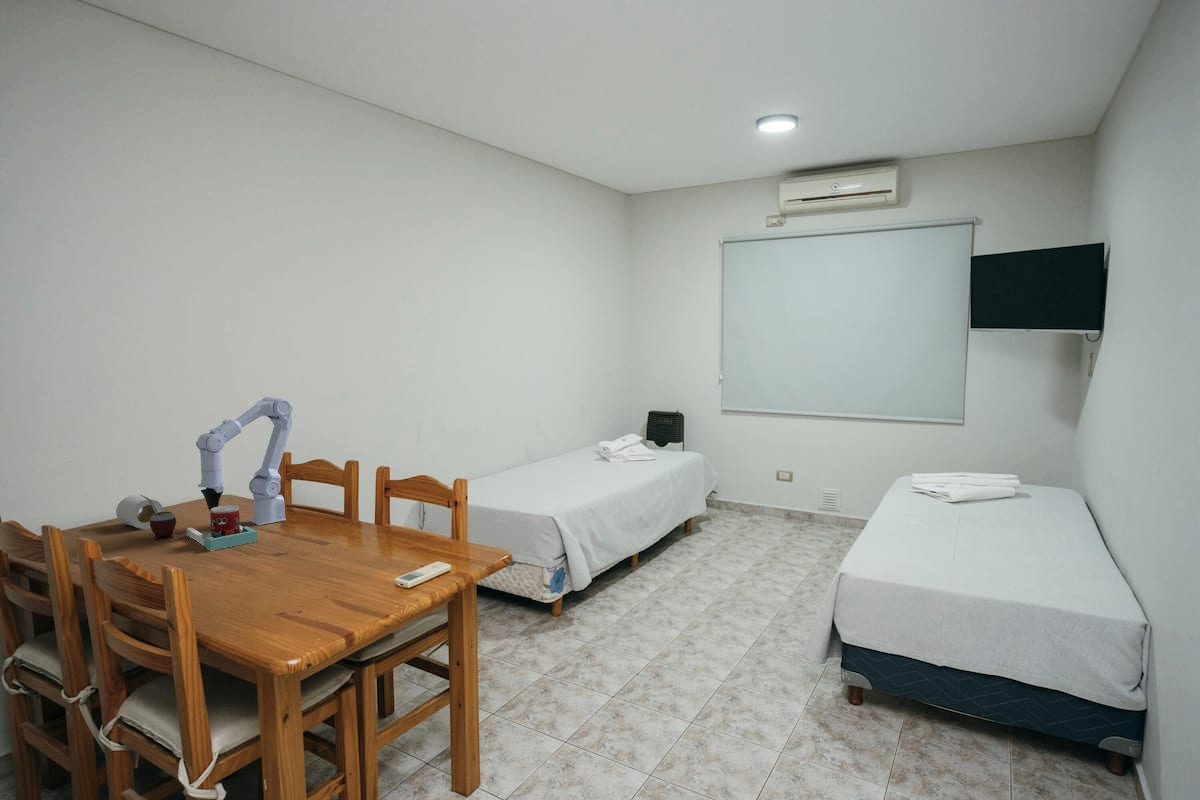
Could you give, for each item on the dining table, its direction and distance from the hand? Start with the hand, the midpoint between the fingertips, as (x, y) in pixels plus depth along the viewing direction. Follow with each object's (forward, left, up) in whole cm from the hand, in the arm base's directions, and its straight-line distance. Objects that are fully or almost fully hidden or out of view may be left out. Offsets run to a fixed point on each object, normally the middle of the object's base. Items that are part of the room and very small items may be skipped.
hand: (213, 510), depth 219 cm
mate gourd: (+13, -7, -8) cm, 17 cm away
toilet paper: (+14, -26, -8) cm, 31 cm away
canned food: (0, +11, -8) cm, 14 cm away
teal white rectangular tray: (0, +7, -8) cm, 11 cm away
